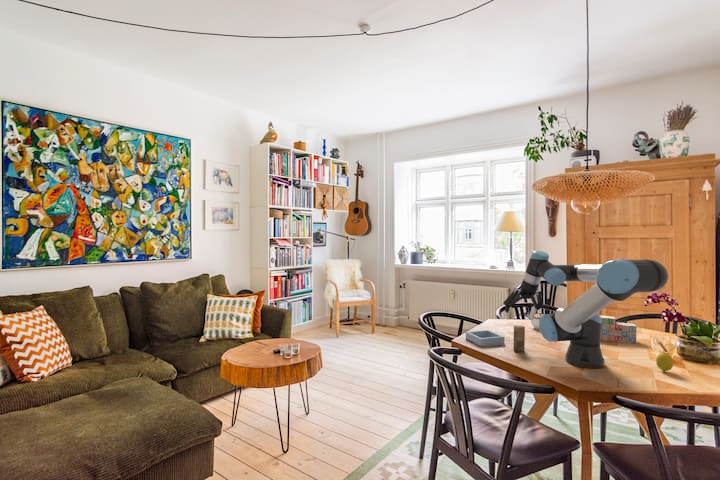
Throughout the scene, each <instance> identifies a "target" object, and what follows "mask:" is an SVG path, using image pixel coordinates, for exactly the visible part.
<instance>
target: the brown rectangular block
mask: <svg viewBox="0 0 720 480" xmlns="http://www.w3.org/2000/svg"><path fill="white" fill-rule="evenodd" d="M525 330H526V327H525V326H524V325H518V324H517V325H513V352H516V353H520V354H521V353H525V349H526V348H525V344H526V343H525V339H526V337H525V334H526V331H525Z"/></svg>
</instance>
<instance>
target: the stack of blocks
mask: <svg viewBox="0 0 720 480" xmlns="http://www.w3.org/2000/svg"><path fill="white" fill-rule="evenodd" d="M598 315H599V314H598ZM599 316H600V319H601V335H600V341H601V340H602V341H607V340H613V341H612V342H617V341H622V342H621V343H626V342H631V343H630V344H635V343H636V344H637V325H636V323H635V324H634V323H627V322H619V321H617V318H616V317H615V316H611V315H610V316H609V315H599Z"/></svg>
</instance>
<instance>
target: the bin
mask: <svg viewBox="0 0 720 480" xmlns="http://www.w3.org/2000/svg"><path fill="white" fill-rule="evenodd" d="M466 339H468V340H470V341H472V342H474V343H476V344H477V346H478V345H479V347H480V346H483V347H493V346H502V345H503V346H504V345H505V336H503V335H501V334H499V333H496V332H494V331H492V330H489V329H485V330H473V331H465V340H466ZM468 340H467V341H468ZM470 341H469V342H470ZM472 342H471V343H472ZM474 343H473V344H474ZM476 344H475V345H476Z"/></svg>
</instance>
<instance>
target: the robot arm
mask: <svg viewBox="0 0 720 480" xmlns="http://www.w3.org/2000/svg"><path fill="white" fill-rule="evenodd" d="M549 258H550V255H549V253H547V252H545V251H543V250H536V249H535V250H534V251H532V253H531V255H530V257H529V260H528V264H527V266H526V270H525V273H524V275H523V279H522V282H521V283H520V288H519V289H518V288H516V287H515V288H513V290H512V292H511V293H509V296H507V298H506V299H504V301H503V305H504V306H505V308H504V317H505V319H506V320H509V318H510V315H511V312H512V309H513V306H514V305H515V304H517V303H518V302H519V301H521V300H525V299H527V300H531V303H532V304H533V306H532V307H531V309H530V312H529V315H528V318H529V319H530V321H531V320H533V318H534V315H535V314H538V310H541V309H543V307H544V306H543V299H542V293H543V292H542V291H541V290H540V289H539V287H540V283H541V280H542V279H544V280H545V281H546V282H547V283H548V284H551V285H552V286H556V287H558V286H560V285H562V284H563V283H564V282H585V283H586V282H587V283H595V284H594V285H592V286H591V287H590V288H588V289H587V290H586V291H584V293H582V294H581V295H579V296H578V297H577V298H576V299H574V300H573V301H572V302H571V303H570V304H568V305H567V306H566V307H559V308H557V309H556V310H555V311H553V312H552V313H550V314H548V313H546V314H544V315H542V316H541V318H540V320H539V328H540V329H539V331H540V334H541V336H542V337H543V339H544V340H546V341H547V342H552V343H553V342H554V343H557V342H568V341H569V345H568V348H567V351H566V353H565V357H564V358H565V359H564V360H565V361H566V363H569V364H570V365H573V366H576V367H580V368H587V369H601V368H604V367H605V362H606V361H605V358H604V356H603V354H602V353H603V352H602V349H601V340H600V335H601V319H600V316H601V315H600V316H599V314H598V313H600V312H601V311H603V310H604V309H606V308H607V307H609V306H610V305H611V304H613V303H615V302H623V301H625V300H627V299H628V298H630V297H631V296H632V295H634V294H637V293H638V294H639V293H653V292H657V291H659V290H661V289H663V288H664V287H665V286H666V284H667V283H668V281H669V272H668V270H667V268H666V267H665V265H663V264H662V263H660V261H659V262H658V261H657V260H654V259H645V258H644V259H624V258H622V259H620V258H618V259H614V260H613V259H612V260H608V261H606V262H604V263H603V264H582V263H581V264H580V263H579V264H553V263H552V262H550V261H549ZM535 296H536V298H535Z"/></svg>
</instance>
